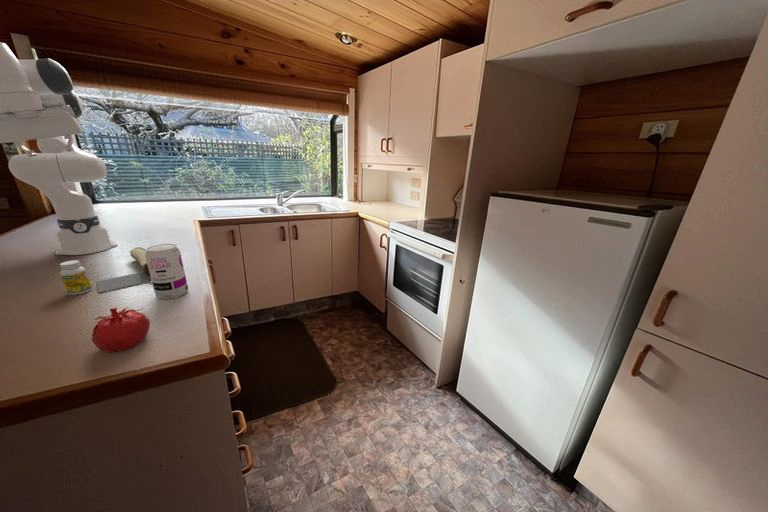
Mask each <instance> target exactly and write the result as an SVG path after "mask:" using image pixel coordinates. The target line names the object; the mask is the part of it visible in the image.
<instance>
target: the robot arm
mask: <svg viewBox="0 0 768 512" xmlns="http://www.w3.org/2000/svg"><path fill="white" fill-rule="evenodd" d="M73 89H74V85H73V81H72V78H71V76H70V75H69V73H68V71H67V70H66V69H65V68H64V67H63V66H62V65H61V64H60V63H59V62H57V61H55V60H53V59H51V58H49V57H48V58H37V59H18V58H17V57H16V56H15V54H14V53H13V52H12V50H11V49H10V48H9V46H8V45H7V44H6V43H4V42H1V41H0V144H7V143H13V144H14V146H16V147H17V148H18V149H20V150H21V151H23V152H24V153H21V154H13V155H12V156H11V157H10V158H9V160H8V170H9V171H10V173H11V174H12V175H13V176H14V177H15V178H16V179H17V180H20V181H21V182H23V183H26V184H27V185H30V186H32V187H34V188H36V189H37V190H39V191H41V193H43V194H44V196H46V197H47V199H48V200H49V202H50V203H51V205H52V207H53V209H54V212H55V214H56V215H55V216H56V217H57V219H56V221H57V222H56V223H57V225H58V228H59V229H60V230H58V231H57V233H56V238H57V242H58V244H59V249H57V251H55V255H56V256H63V255H64V256H79V255H80V256H81V255H89V254H95V253H99V252H103V251H105V250H109V249H111V248H114V247H118V244H117V242H115V241H113V240H111V239H110V235H109V234H108V230H107V228H106V227H104V226H102V225H101V224H100V218H99V217H98V215H97V214H96V212H95V208H94V205H93V201H92V199H91V198H90V196H88V195H87V194H85V193H83V192H79V191H76V190H72V189H70V188H68V187H67V186H66V185H65V184H66V183H91V182H96V181H101V180H104V178H105V177H106V176H107V171H108V170H107V166H106V164H105V162H104V161H103V160H102V159H101V158H100V157H98V156H96V155H94V154H90V153H88V152H85V151H83V150H82V149H81V148H79V145H78V144H77V139H76V135H82V134H83V133H84V128H83V126H82V125H81V124H80V122H79V121H78V118H80V117H81V116H82V114H83V111H84V104H83V102H82V100H81V98H80V97H79V96H78V95H77V93H76V92H75V91H73ZM34 140H36V145H37V148H38V150H39V151H40V152H35V151H34V149H31V150H30V149H29V148H27V147H26V146H25V145H26V144H25V142H24V141H34Z"/></svg>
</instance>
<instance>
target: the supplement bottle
mask: <svg viewBox="0 0 768 512" xmlns="http://www.w3.org/2000/svg"><path fill="white" fill-rule="evenodd" d="M59 267H60V269H62V270H61V271H59V275H60V278H61V280H62V284H63V285H64V288H65V290H66V293H67V294H68V295H69V296H77V295H76V294H79V295H83V294H85V292H86V293H88V291H89V292H90V291H91V290H93V287H92V284H91V281H90V279H89V275H88V272H87V270H86V269H87V268H85V267H84V266H81V262H80V261H79V259H78V260H77V259H76V260H68V261H64V262H61V263H59ZM82 293H83V294H82Z"/></svg>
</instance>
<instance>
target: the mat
mask: <svg viewBox="0 0 768 512" xmlns="http://www.w3.org/2000/svg"><path fill="white" fill-rule="evenodd" d="M151 281H152V280H151V276H149V275H146V273H145V272H144V271H140V272H135V273H131V274H126V275H121V276H116V277H111V278H107V279H100V280H97V281H96V284H97V285H96V286H97V291H98V294H99V293H100V294H103V293H102V292H105V293H108V292H107V291H109V292H112V291H111V290H114V291H117V290H116V289H118V290H121V288H122V289H126V288H125V287H127V288H130V286H131V287H135V286H134V285H136V286H140V285H144V284H143V283H145V284H148V283H147V282H149V283H152V282H151ZM139 284H140V285H139Z"/></svg>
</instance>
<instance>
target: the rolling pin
mask: <svg viewBox="0 0 768 512" xmlns="http://www.w3.org/2000/svg"><path fill="white" fill-rule="evenodd" d="M146 251H147V250H146V249H145V248H143V247H134V248H132V249H131V250H130V251H128V252H129V254H130V257H131V258H132V259H134V260H135V261H136V262H138V264H139V265H140V266H141V267H142V269H143V272H145V273H146V275H149V276H150V272H149V269H148V265H147V261H146V257H145V253H146Z"/></svg>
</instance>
